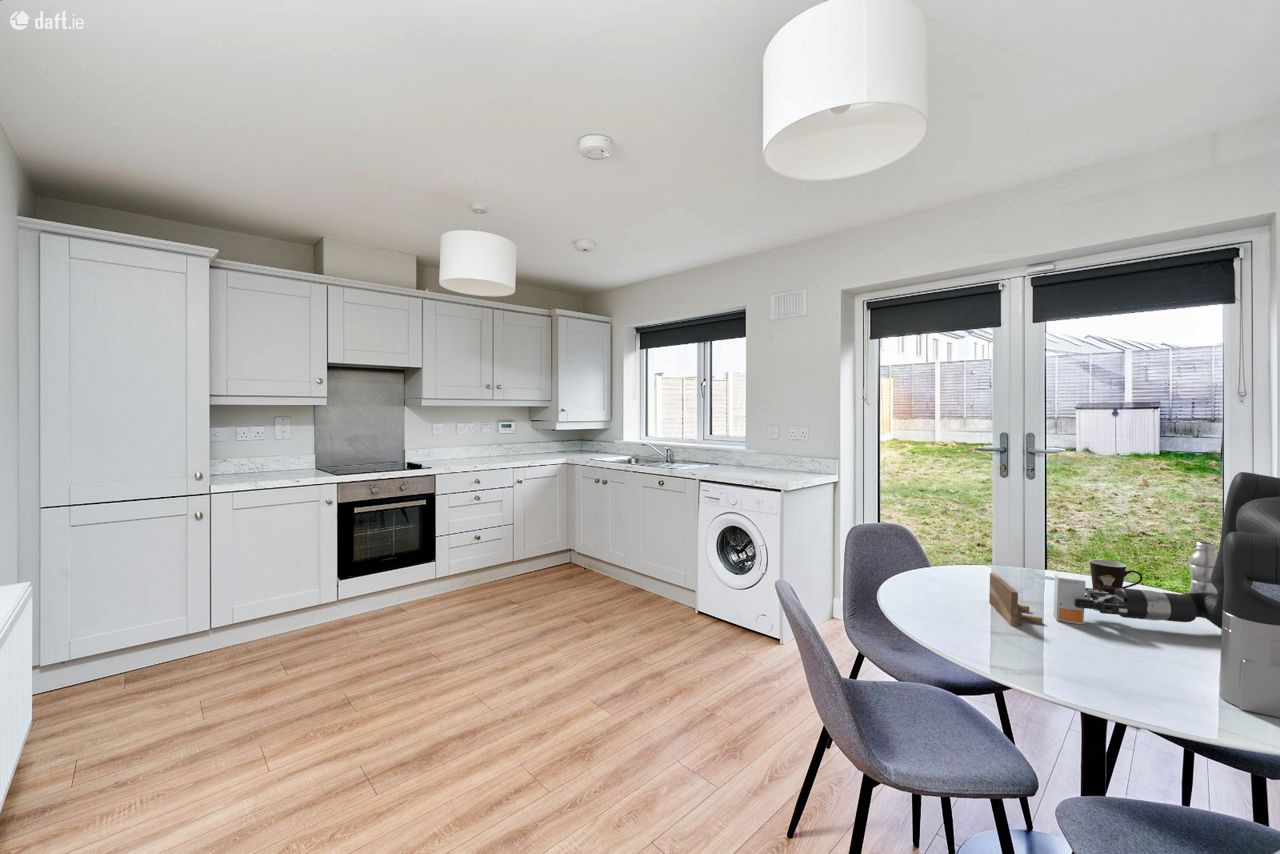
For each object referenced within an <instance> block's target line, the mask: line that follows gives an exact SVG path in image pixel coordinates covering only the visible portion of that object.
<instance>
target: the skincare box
mask: <svg viewBox="0 0 1280 854" xmlns="http://www.w3.org/2000/svg"><path fill="white" fill-rule="evenodd" d="M1085 588H1086V580H1085V579H1084V578H1083V577H1082V576H1078V575H1077V576H1076V575H1068V574H1058V573H1055V574H1054V592H1053V593H1054V594H1053V617H1054V619H1055V620H1056V621H1057V622H1064V623H1065V622H1066V623H1071V624H1076V625H1081V624H1083V625H1084V623H1085V622H1084V621H1085V608H1077V607H1076V606H1075V599H1085V595H1086V593H1085Z"/></svg>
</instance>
